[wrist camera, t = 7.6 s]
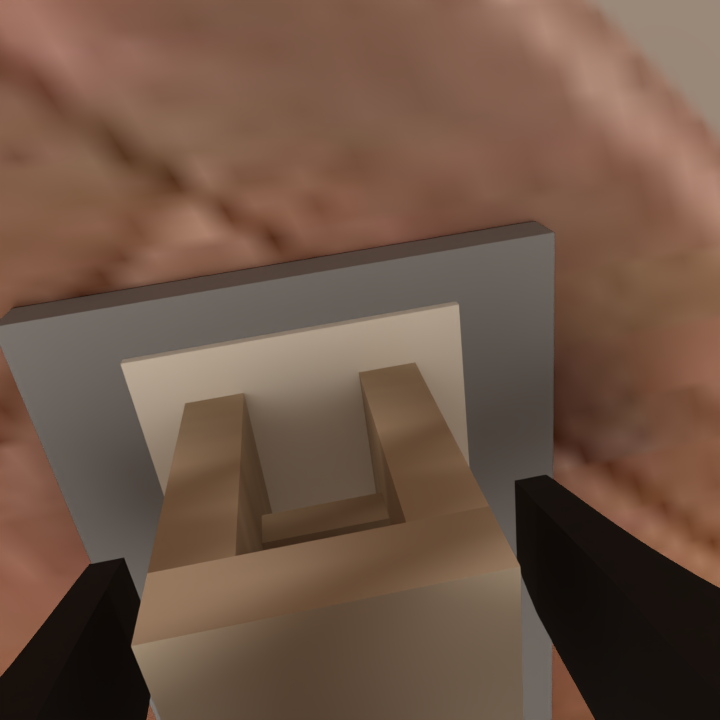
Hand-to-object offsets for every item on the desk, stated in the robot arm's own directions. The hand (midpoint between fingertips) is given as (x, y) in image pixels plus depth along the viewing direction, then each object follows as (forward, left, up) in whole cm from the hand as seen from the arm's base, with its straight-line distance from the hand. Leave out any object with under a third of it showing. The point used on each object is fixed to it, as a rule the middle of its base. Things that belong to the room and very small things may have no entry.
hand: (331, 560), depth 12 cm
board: (-3, +4, -4) cm, 7 cm away
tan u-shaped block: (0, 0, -3) cm, 3 cm away
